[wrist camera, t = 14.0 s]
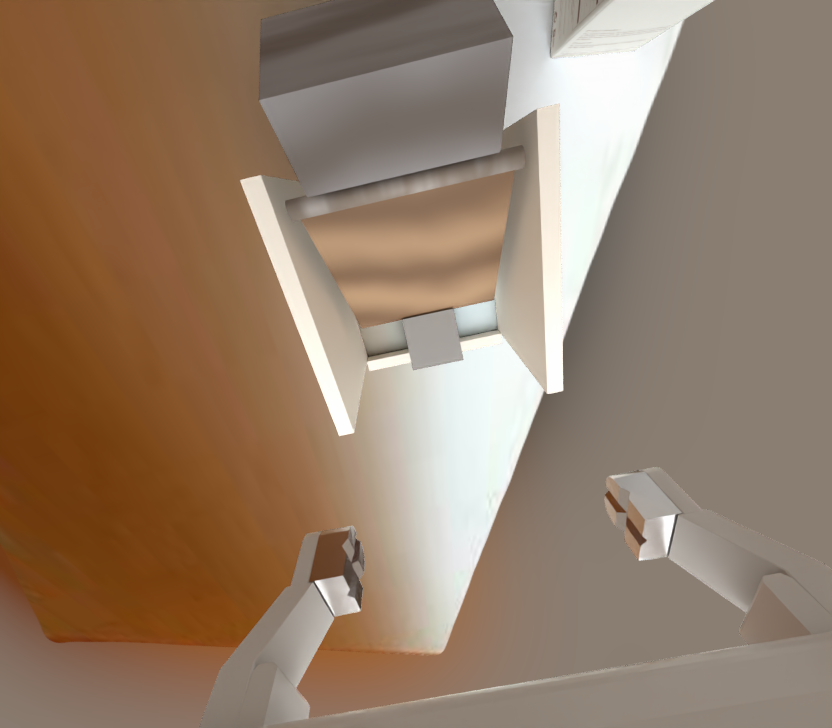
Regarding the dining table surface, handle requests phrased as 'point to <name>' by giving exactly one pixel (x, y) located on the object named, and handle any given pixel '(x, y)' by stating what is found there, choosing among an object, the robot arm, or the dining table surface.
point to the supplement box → (614, 24)
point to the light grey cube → (433, 339)
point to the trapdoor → (396, 146)
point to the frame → (515, 290)
